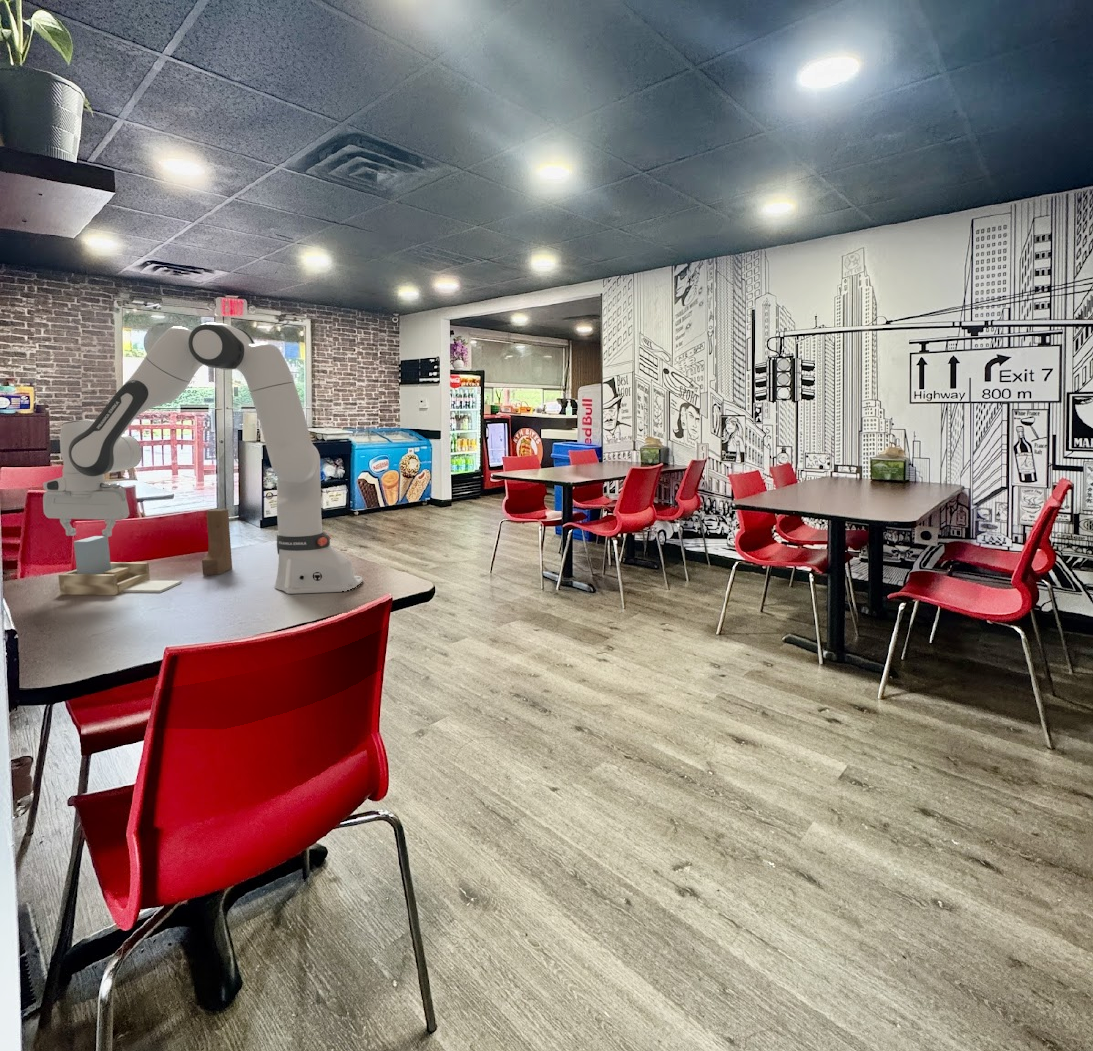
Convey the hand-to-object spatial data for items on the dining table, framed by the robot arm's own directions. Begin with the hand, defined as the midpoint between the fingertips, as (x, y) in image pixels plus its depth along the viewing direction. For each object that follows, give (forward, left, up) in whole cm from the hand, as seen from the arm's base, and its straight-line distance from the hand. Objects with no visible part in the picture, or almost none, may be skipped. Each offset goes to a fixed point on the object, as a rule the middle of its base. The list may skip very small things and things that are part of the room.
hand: (89, 535), depth 175 cm
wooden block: (-24, -18, -14) cm, 33 cm away
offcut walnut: (-6, 0, -14) cm, 15 cm away
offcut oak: (-6, 0, -12) cm, 13 cm away
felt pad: (-15, 0, -14) cm, 21 cm away
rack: (-4, 0, -14) cm, 14 cm away
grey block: (0, 0, -14) cm, 14 cm away
